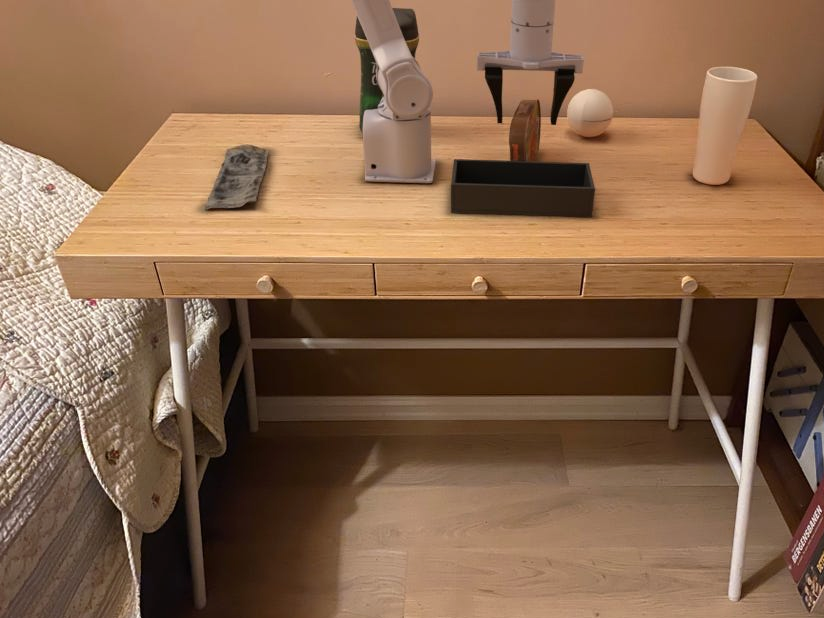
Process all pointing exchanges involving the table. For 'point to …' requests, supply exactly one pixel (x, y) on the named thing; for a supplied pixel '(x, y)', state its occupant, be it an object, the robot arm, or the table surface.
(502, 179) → the bin
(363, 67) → the coffee jar
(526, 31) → the robot arm
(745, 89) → the drinking glass
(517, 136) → the tin
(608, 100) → the white ball
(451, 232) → the table surface
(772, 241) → the table surface
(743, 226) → the table surface
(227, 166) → the driftwood
